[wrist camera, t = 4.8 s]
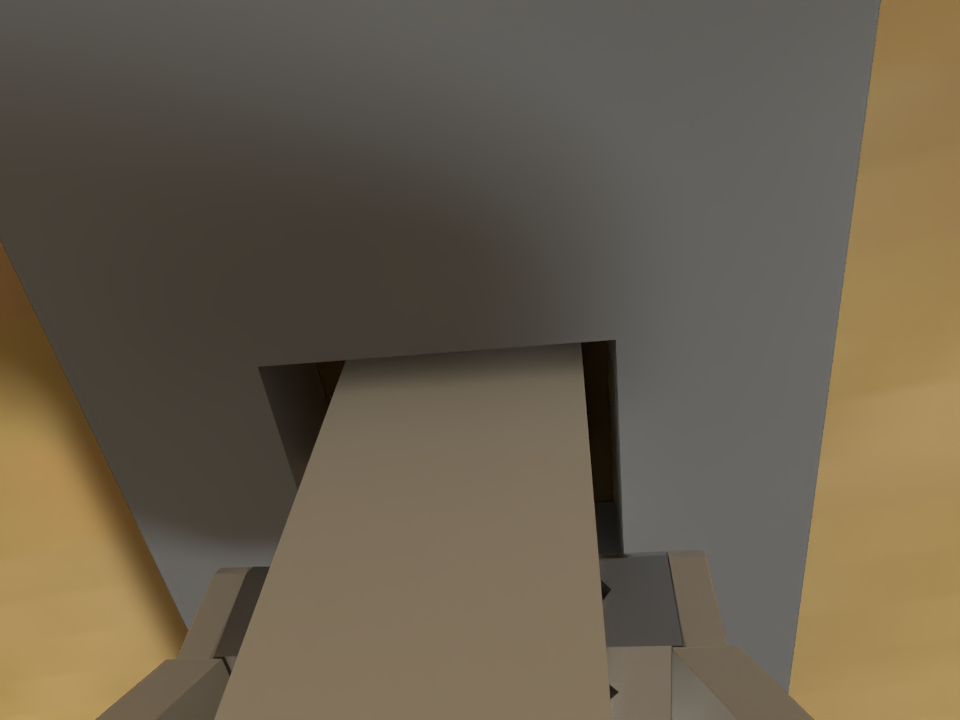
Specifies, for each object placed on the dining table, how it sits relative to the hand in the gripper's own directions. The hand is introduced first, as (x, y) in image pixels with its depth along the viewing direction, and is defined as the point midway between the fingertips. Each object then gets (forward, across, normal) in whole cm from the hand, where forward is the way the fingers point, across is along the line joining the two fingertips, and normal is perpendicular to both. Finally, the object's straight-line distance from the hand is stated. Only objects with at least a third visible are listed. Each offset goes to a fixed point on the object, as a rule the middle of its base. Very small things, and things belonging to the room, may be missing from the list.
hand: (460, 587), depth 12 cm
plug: (+4, 0, 0) cm, 4 cm away
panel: (+5, 0, +7) cm, 9 cm away
